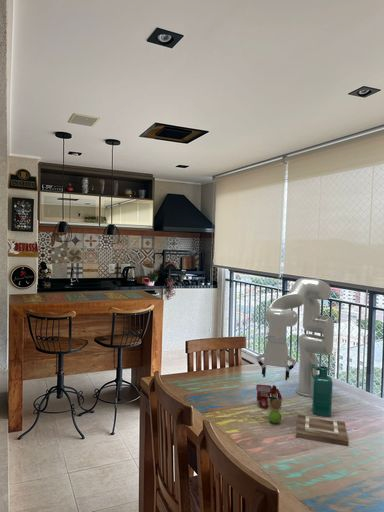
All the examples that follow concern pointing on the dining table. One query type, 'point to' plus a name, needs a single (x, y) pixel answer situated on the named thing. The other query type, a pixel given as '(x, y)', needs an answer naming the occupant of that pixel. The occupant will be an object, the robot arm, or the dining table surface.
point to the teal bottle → (322, 392)
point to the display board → (321, 430)
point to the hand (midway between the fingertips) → (275, 377)
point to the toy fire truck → (267, 394)
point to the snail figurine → (274, 410)
